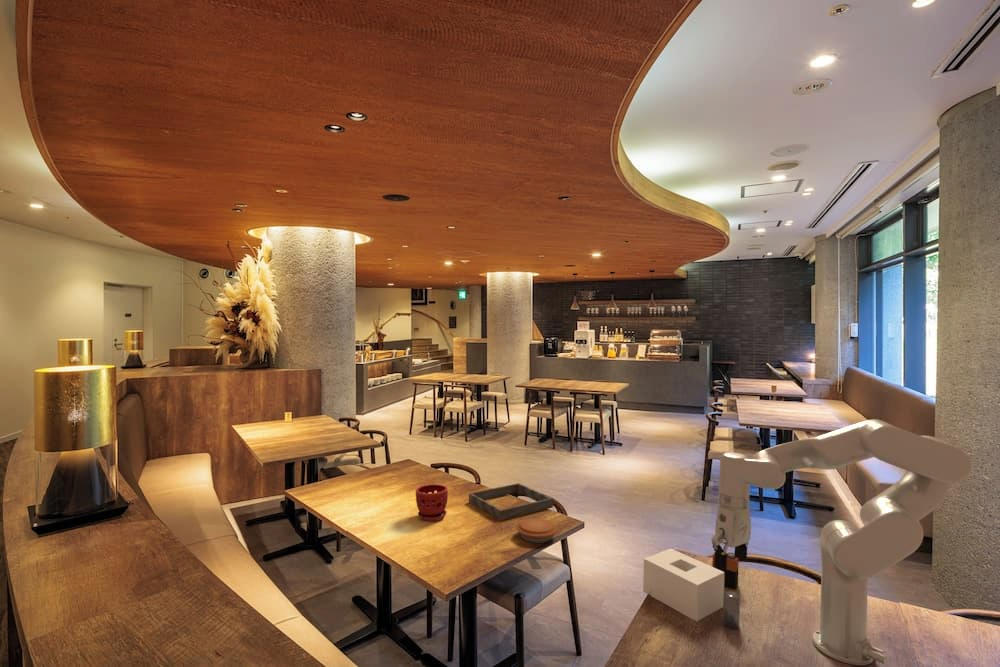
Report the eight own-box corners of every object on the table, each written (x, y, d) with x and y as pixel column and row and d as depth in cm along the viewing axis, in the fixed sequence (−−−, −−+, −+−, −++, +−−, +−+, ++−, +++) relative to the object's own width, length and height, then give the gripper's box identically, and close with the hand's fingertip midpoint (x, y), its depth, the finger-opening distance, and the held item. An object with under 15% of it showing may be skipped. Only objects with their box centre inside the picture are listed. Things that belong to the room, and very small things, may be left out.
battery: (734, 590, 150) (735, 558, 150) (711, 583, 154) (712, 551, 154) (738, 584, 154) (739, 553, 154) (715, 577, 158) (716, 546, 158)
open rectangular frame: (552, 507, 217) (552, 498, 217) (500, 520, 201) (500, 511, 201) (518, 491, 237) (518, 483, 237) (468, 502, 221) (469, 493, 221)
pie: (555, 547, 177) (555, 534, 177) (512, 543, 181) (513, 529, 180) (558, 530, 193) (558, 518, 192) (519, 526, 196) (519, 514, 196)
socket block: (723, 606, 141) (724, 572, 141) (696, 621, 134) (697, 585, 134) (670, 579, 156) (670, 548, 156) (643, 591, 149) (643, 558, 148)
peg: (742, 626, 132) (743, 596, 132) (734, 631, 130) (734, 601, 130) (728, 618, 135) (728, 590, 135) (719, 623, 133) (720, 594, 133)
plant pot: (450, 512, 209) (450, 484, 209) (443, 524, 196) (444, 494, 196) (420, 510, 211) (420, 482, 211) (411, 522, 198) (412, 492, 197)
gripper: (728, 510, 124) (725, 577, 124) (764, 498, 134) (761, 561, 134) (702, 501, 130) (699, 565, 131) (737, 490, 140) (734, 550, 141)
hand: (730, 563), depth 132 cm, fingers open, 9 cm apart
